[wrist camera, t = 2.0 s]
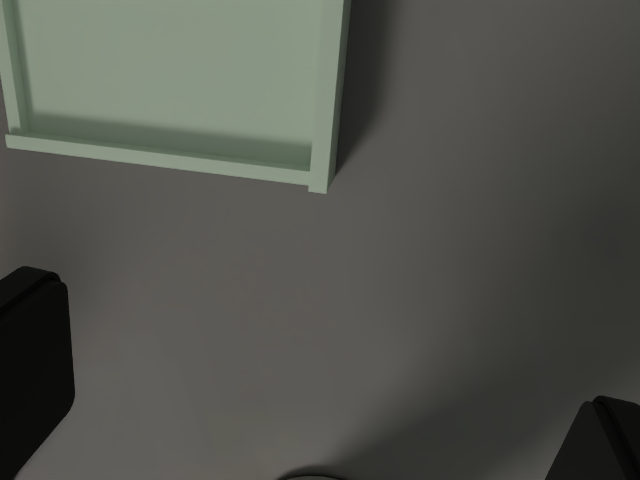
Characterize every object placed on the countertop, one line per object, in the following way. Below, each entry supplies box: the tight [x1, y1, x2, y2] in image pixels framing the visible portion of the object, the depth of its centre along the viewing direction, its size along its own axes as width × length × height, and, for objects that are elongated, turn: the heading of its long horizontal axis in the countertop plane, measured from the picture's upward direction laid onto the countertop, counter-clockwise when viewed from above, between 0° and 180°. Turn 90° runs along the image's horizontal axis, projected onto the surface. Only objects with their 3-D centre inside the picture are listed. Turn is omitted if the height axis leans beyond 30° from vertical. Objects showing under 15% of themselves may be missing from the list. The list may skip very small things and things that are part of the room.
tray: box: [0, 0, 352, 194], centre depth 29 cm, size 20×12×4 cm, turn 85°
